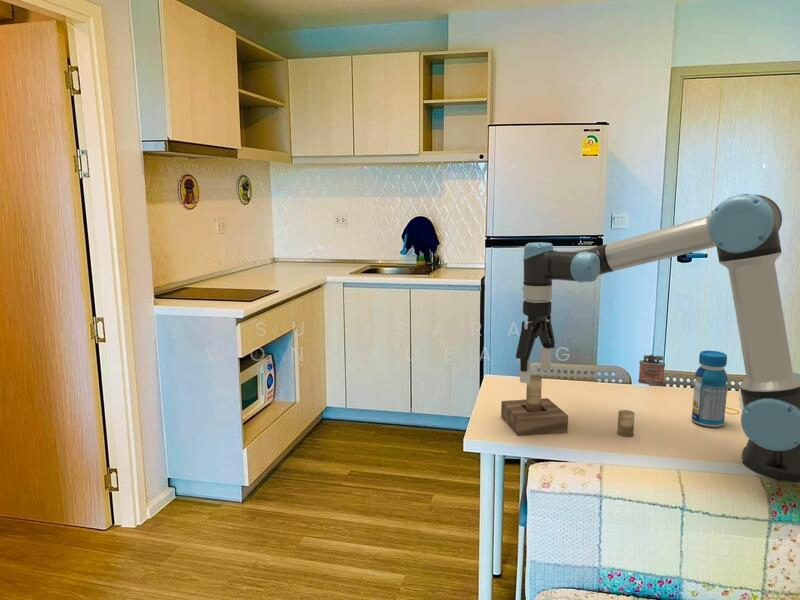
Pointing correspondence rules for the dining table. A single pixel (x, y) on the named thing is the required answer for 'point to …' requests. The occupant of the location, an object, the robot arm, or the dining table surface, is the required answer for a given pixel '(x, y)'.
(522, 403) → the pin block
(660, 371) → the lighter
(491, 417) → the dining table surface
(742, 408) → the napkin holder
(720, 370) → the beverage bottle
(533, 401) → the long pin
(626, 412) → the short pin
